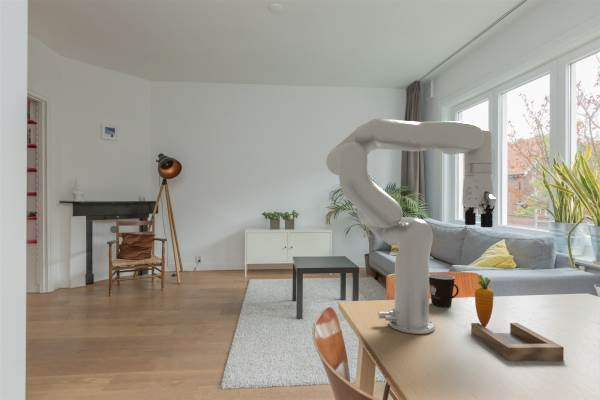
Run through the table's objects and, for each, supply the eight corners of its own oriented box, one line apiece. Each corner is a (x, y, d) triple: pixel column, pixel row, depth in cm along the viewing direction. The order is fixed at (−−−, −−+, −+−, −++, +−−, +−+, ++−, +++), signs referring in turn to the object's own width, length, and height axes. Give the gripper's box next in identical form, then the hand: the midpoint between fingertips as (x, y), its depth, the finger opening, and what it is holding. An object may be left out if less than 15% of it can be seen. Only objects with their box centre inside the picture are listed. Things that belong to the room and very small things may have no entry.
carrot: (496, 331, 97) (496, 277, 97) (477, 329, 98) (477, 277, 98) (490, 325, 102) (490, 274, 102) (472, 323, 103) (472, 273, 103)
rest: (508, 360, 79) (508, 347, 79) (471, 334, 95) (471, 323, 95) (563, 360, 80) (563, 347, 80) (517, 333, 95) (517, 322, 96)
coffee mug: (425, 300, 127) (426, 273, 127) (450, 301, 126) (450, 274, 126) (433, 310, 116) (433, 280, 116) (460, 311, 114) (461, 281, 114)
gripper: (453, 172, 115) (453, 224, 115) (480, 167, 98) (480, 228, 98) (475, 172, 115) (476, 224, 115) (506, 167, 98) (507, 228, 98)
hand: (478, 226), depth 106 cm, fingers open, 9 cm apart
